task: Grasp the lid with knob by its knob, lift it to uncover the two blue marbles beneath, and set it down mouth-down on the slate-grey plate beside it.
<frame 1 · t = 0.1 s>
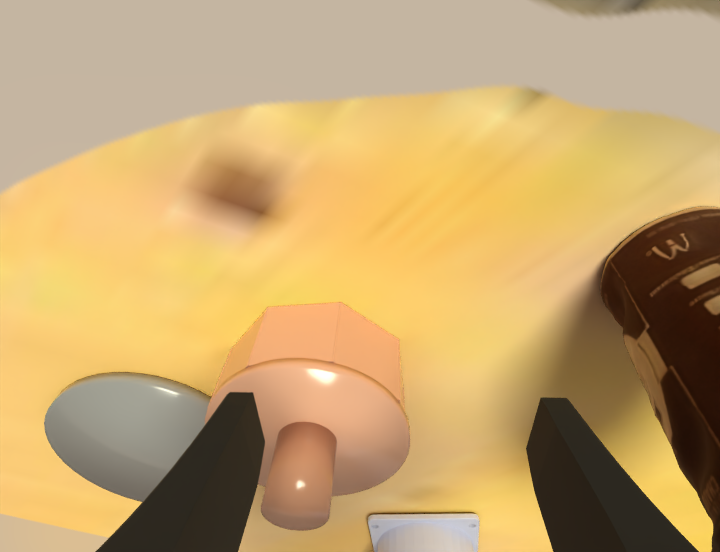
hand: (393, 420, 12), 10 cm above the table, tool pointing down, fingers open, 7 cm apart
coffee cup: (669, 269, 21), on the table
lid with knob: (319, 368, 25), on the table
slate plate: (155, 441, 30), on the table
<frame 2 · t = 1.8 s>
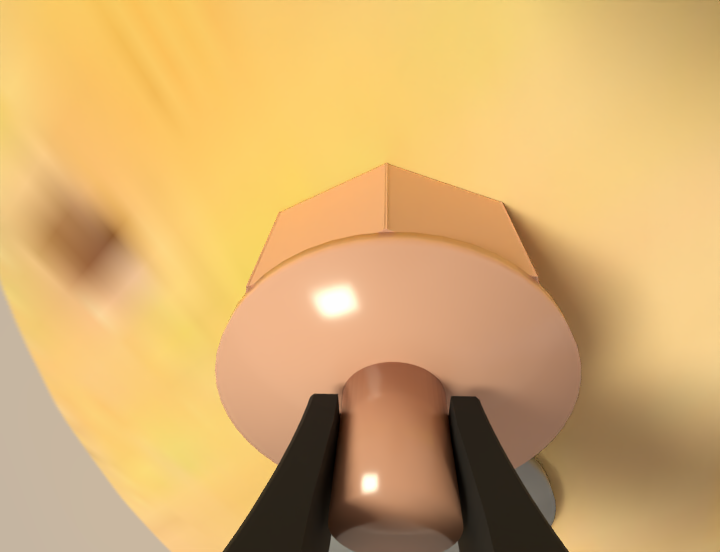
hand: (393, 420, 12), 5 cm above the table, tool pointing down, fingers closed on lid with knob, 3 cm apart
lid with knob: (392, 296, 16), on the table, touching gripper
slate plate: (419, 502, 23), on the table
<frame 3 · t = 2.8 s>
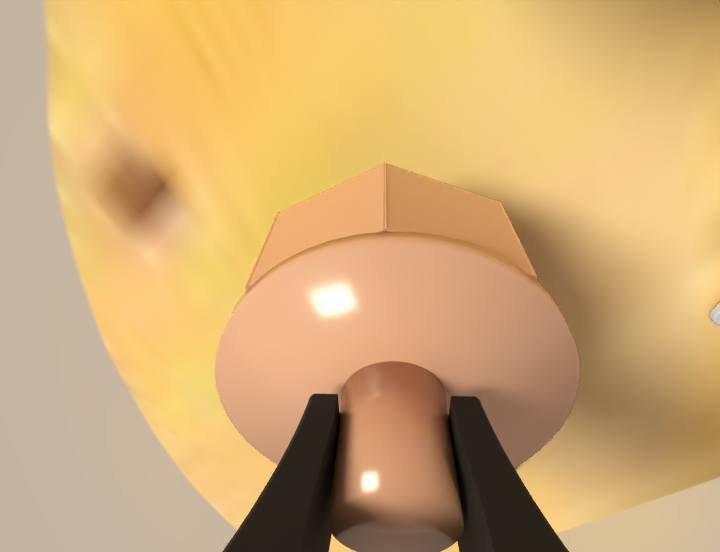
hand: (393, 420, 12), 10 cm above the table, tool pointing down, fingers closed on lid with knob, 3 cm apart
lid with knob: (391, 295, 16), point 4 cm above the table, touching gripper
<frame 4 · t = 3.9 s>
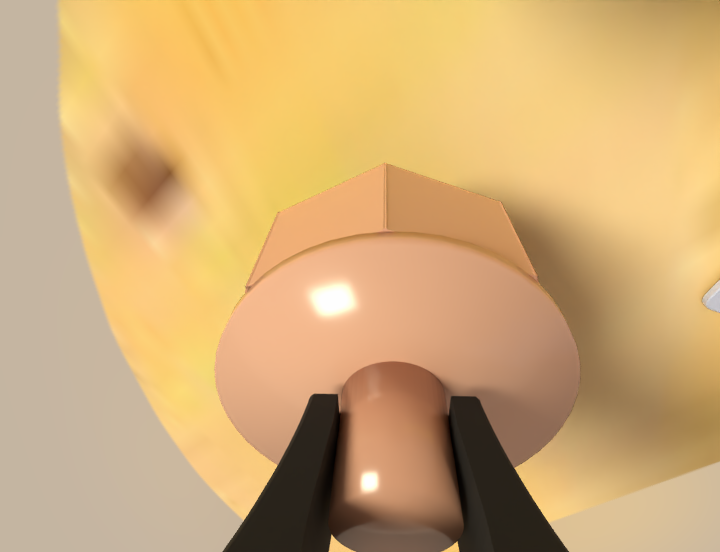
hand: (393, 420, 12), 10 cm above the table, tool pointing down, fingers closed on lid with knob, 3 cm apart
lid with knob: (391, 295, 16), point 5 cm above the table, touching gripper
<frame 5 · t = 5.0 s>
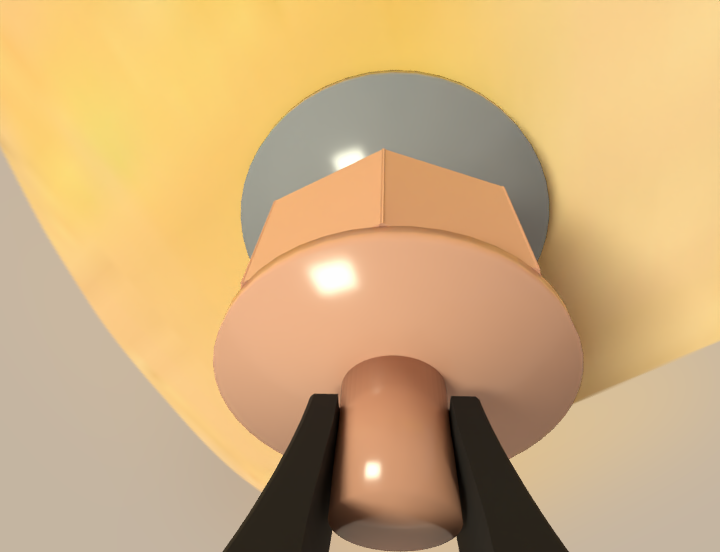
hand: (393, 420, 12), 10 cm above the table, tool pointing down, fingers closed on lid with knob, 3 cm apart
lid with knob: (392, 282, 16), point 5 cm above the table, touching gripper
slate plate: (391, 228, 20), on the table
when the fingers open (7 cm above the table, at t = 6.0 s): lid with knob stays where it is, resting on slate plate.
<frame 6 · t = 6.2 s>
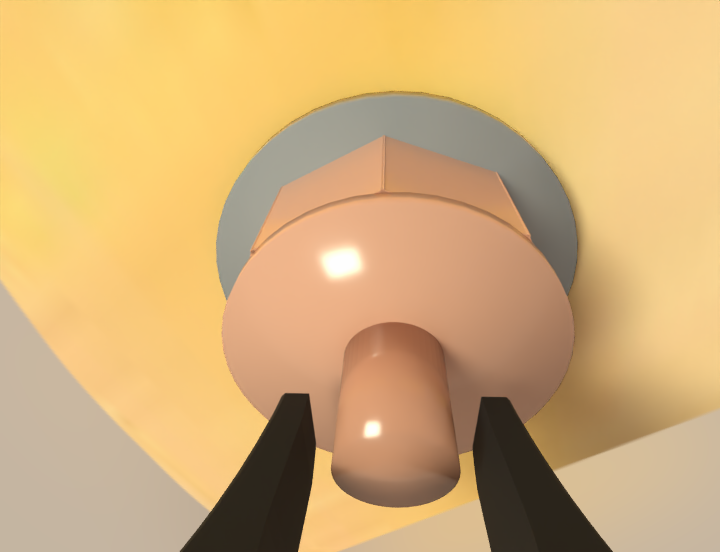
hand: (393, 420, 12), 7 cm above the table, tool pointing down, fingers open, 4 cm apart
lid with knob: (392, 269, 16), point 1 cm above the table, touching slate plate
slate plate: (392, 269, 17), on the table
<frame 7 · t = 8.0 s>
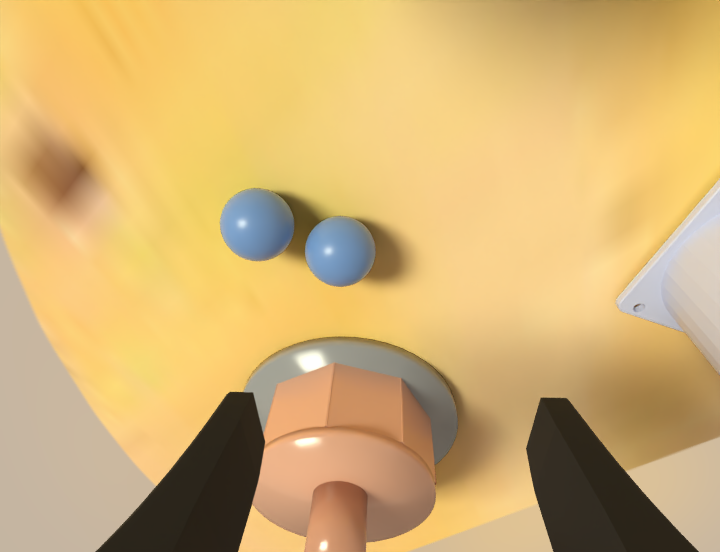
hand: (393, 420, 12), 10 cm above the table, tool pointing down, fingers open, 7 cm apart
lid with knob: (346, 421, 27), point 1 cm above the table, touching slate plate
slate plate: (348, 416, 28), on the table
blue marble 2: (265, 208, 20), on the table
blue marble 1: (343, 234, 20), on the table
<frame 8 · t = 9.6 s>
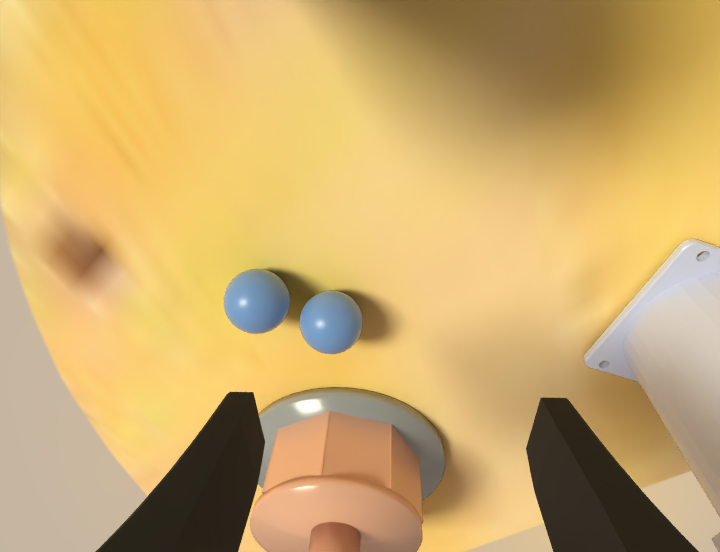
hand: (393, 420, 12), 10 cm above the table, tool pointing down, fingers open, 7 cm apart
lid with knob: (342, 460, 29), point 1 cm above the table, touching slate plate
slate plate: (344, 454, 30), on the table
blue marble 2: (264, 282, 22), on the table
blue marble 1: (334, 302, 23), on the table
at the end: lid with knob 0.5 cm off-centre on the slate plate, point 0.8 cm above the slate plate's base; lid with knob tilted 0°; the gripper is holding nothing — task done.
